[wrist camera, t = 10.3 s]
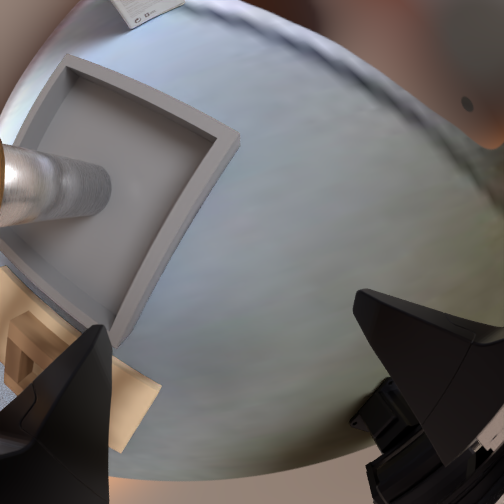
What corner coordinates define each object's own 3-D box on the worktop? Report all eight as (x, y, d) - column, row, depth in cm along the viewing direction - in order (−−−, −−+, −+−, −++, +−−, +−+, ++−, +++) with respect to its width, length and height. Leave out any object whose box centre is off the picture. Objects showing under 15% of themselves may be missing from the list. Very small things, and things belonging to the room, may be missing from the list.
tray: (240, 145, 20) (240, 133, 16) (132, 331, 21) (116, 349, 18) (84, 68, 18) (66, 53, 15) (6, 228, 20) (-17, 230, 16)
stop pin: (129, 200, 19) (-3, 203, 6) (79, 235, 19) (-50, 271, 6) (103, 143, 18) (-22, 97, 5) (56, 180, 18) (-70, 174, 6)
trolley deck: (161, 385, 22) (150, 412, 18) (123, 447, 23) (113, 471, 19) (5, 265, 20) (-20, 272, 16) (-7, 346, 21) (-26, 358, 17)
